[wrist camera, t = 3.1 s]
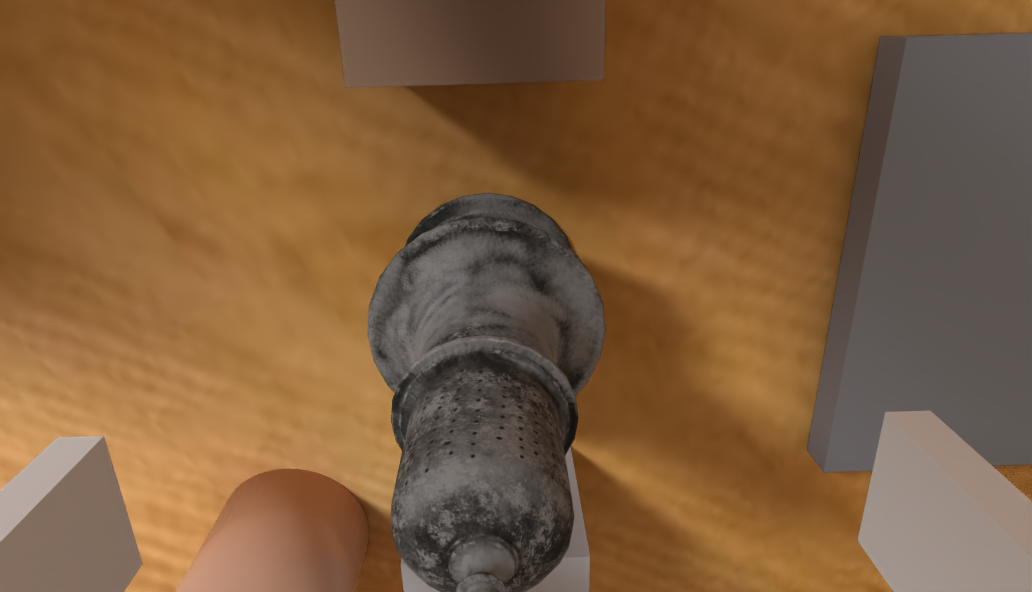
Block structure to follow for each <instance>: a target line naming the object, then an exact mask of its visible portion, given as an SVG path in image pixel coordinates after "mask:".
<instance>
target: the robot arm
mask: <svg viewBox="0 0 1032 592" xmlns="http://www.w3.org/2000/svg"><path fill="white" fill-rule="evenodd" d="M858 542H859V543H860V545H861V546H862V548H863V549H864V551H865V552H866V554H867V555H868V556H869V558H870V559H871V561H872V562H873V564H874V565H875V567H876V568H877V569H878V571H879V572H880V574H881V575H882V577H883V578H884V580H885V581H886V582H887V584H888V585H889V587H890V588H891V590H892V591H893V592H1032V501H1031V500H1030V499H1029V498H1028V497H1027V496H1025V495H1024V494H1023V493H1022V492H1021V491H1020V490H1019V489H1018V488H1017V487H1015V486H1014V485H1013V484H1012V483H1011V482H1010V481H1009V480H1008V479H1006V478H1005V477H1004V476H1003V475H1002V474H1001V473H1000V472H999V471H997V470H996V469H995V468H994V467H993V466H992V465H991V464H990V463H989V462H987V461H986V460H985V459H984V458H983V457H982V456H981V455H980V454H978V453H977V452H976V451H975V450H974V449H973V448H972V447H971V446H969V445H968V444H967V443H966V442H965V441H964V440H963V439H962V438H961V437H959V436H958V435H957V434H956V433H955V432H954V431H953V430H952V429H950V428H949V427H948V426H947V425H946V424H945V423H944V422H943V421H941V420H940V419H939V418H938V417H937V416H936V415H935V414H934V413H932V412H931V411H899V412H885V416H884V420H883V425H882V429H881V434H880V439H879V443H878V448H877V453H876V457H875V462H874V467H873V471H872V476H871V480H870V485H869V490H868V494H867V499H866V504H865V508H864V513H863V518H862V522H861V527H860V532H859V536H858ZM141 565H142V560H141V557H140V554H139V550H138V547H137V544H136V540H135V537H134V534H133V530H132V527H131V524H130V520H129V517H128V514H127V511H126V507H125V504H124V501H123V497H122V494H121V491H120V487H119V484H118V481H117V477H116V474H115V471H114V467H113V464H112V461H111V457H110V454H109V451H108V447H107V444H106V441H105V438H104V436H81V437H58V438H56V439H55V440H54V441H53V442H52V443H51V444H50V445H49V446H48V447H47V448H46V449H44V450H43V451H42V452H41V453H40V454H39V455H38V456H37V457H36V458H35V459H34V460H33V461H31V462H30V463H29V464H28V465H27V466H26V467H25V468H24V469H23V470H22V471H21V472H20V473H18V474H17V475H16V476H15V477H14V478H13V479H12V480H11V481H10V482H9V483H8V484H6V485H5V486H4V487H3V488H2V489H1V490H0V592H124V591H125V589H126V588H127V586H128V585H129V583H130V582H131V580H132V579H133V577H134V576H135V574H136V573H137V571H138V570H139V568H140V567H141Z"/></svg>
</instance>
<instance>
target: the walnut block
mask: <svg viewBox="0 0 1032 592" xmlns="http://www.w3.org/2000/svg"><path fill="white" fill-rule="evenodd" d="M335 8H336V17H337V25H338V33H339V42H340V50H341V58H342V67H343V75H344V83H345V88H358V87H392V86H426V85H460V84H494V83H529V82H563V81H597V80H604V55H605V14H606V0H335Z"/></svg>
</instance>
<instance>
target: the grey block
mask: <svg viewBox="0 0 1032 592" xmlns="http://www.w3.org/2000/svg"><path fill="white" fill-rule="evenodd" d="M565 458H566V464H567V470H568V477H569V483H570V489H571V495H572V502H573V510H574V523H573V530H572V535H571V539H570V544H569V548H568V550H567V552H566V553H565V555H564V557H563V559H562V560H561V562H560V564H559V565H558V566H557V567H556V568H555V569H554V570H553V571H552V572H551V573H550V574H549V575H547V576H546V577H545V578H544V579H543V580H542V581H541V582H540V583H539V584H538V585H536V586H534V587H533V588H531V589H529V590H528V591H526V592H589V582H590V553H589V547H588V542H587V536H586V530H585V525H584V519H583V513H582V508H581V502H580V497H579V491H578V485H577V480H576V474H575V469H574V463H573V457H572V452H571V446H570V448H569V450H568V452H567V454H566V456H565ZM401 573H402V581H403V590H404V592H439V591H437V590H436V589H434V588H432V587H430V586H428V585H427V584H426V583H425V582H424V581H422V580H421V579H420V578H419V577H418V576H417V575H416V574H415V573H414V572H413V571H412V570H411V569H410V568H409V567H408V566H407V565H406V563H405V562H404V560H403V559H401Z"/></svg>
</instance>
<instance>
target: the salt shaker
mask: <svg viewBox="0 0 1032 592" xmlns="http://www.w3.org/2000/svg"><path fill="white" fill-rule="evenodd" d="M604 336H605V320H604V309H603V302H602V299H601V297H600V294H599V292H598V289H597V287H596V284H595V282H594V279H593V277H592V274H591V273H590V272H589V271H588V269H587V268H586V267H585V265H584V264H583V263H582V262H581V260H580V259H579V258H578V256H577V255H576V254H575V253H574V251H573V250H572V249H571V247H570V244H569V242H568V239H567V237H566V236H565V234H564V233H563V232H562V231H561V229H560V228H559V227H558V225H557V224H556V223H555V222H554V220H553V219H552V218H550V217H549V216H548V215H546V214H545V213H544V212H542V211H541V210H540V209H538V208H537V207H536V206H534V205H533V204H530V203H528V202H525V201H523V200H520V199H518V198H515V197H513V196H507V195H499V194H491V193H483V194H476V195H468V196H462V197H460V198H457V199H455V200H452V201H450V202H448V203H445V204H443V205H440V206H439V207H438V208H437V209H435V210H434V211H433V212H431V213H430V214H429V215H428V216H426V217H425V218H424V219H422V220H421V222H420V223H419V224H418V226H417V227H416V228H415V230H414V231H413V232H412V234H411V235H410V237H409V238H408V240H407V243H406V245H405V247H404V248H403V249H402V250H400V251H399V252H398V253H397V254H396V255H395V257H394V258H393V259H392V261H391V262H390V264H389V265H388V266H387V268H386V269H385V270H384V272H383V273H382V274H381V276H380V277H379V280H378V282H377V285H376V288H375V291H374V293H373V296H372V299H371V302H370V305H369V315H368V338H369V343H370V347H371V351H372V355H373V359H374V362H375V364H376V366H377V368H378V369H379V371H380V373H381V375H382V376H383V378H384V380H385V382H386V383H387V385H388V387H389V388H390V389H391V390H392V391H393V392H394V393H395V394H394V397H393V400H392V415H391V423H392V427H393V431H394V435H395V439H396V442H397V443H398V445H399V447H400V448H401V450H402V455H401V460H400V465H399V470H398V474H397V479H396V484H395V489H394V493H393V498H392V507H391V528H392V534H393V538H394V542H395V545H396V549H397V551H398V553H399V554H400V556H401V557H402V559H403V560H404V562H405V563H406V565H407V566H408V567H409V568H410V569H411V570H412V571H413V572H414V573H415V574H416V575H417V576H418V577H419V578H420V579H421V580H422V581H424V582H425V583H426V584H427V585H428V586H430V587H432V588H434V589H436V590H437V591H439V592H526V591H528V590H529V589H531V588H533V587H534V586H536V585H538V584H539V583H540V582H541V581H542V580H543V579H544V578H545V577H546V576H547V575H549V574H550V573H551V572H552V571H553V570H554V569H555V568H556V567H557V566H558V565H559V564H560V562H561V560H562V559H563V557H564V555H565V553H566V552H567V550H568V548H569V544H570V539H571V535H572V530H573V523H574V510H573V502H572V495H571V489H570V483H569V477H568V470H567V464H566V458H565V456H566V454H567V452H568V450H569V448H570V446H571V444H572V443H573V441H574V439H575V434H576V429H577V423H578V411H577V403H576V395H577V394H578V393H579V392H580V390H581V389H582V388H583V387H584V386H585V385H586V384H587V383H588V381H589V379H590V377H591V375H592V373H593V371H594V369H595V367H596V365H597V363H598V361H599V359H600V356H601V351H602V346H603V341H604Z"/></svg>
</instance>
